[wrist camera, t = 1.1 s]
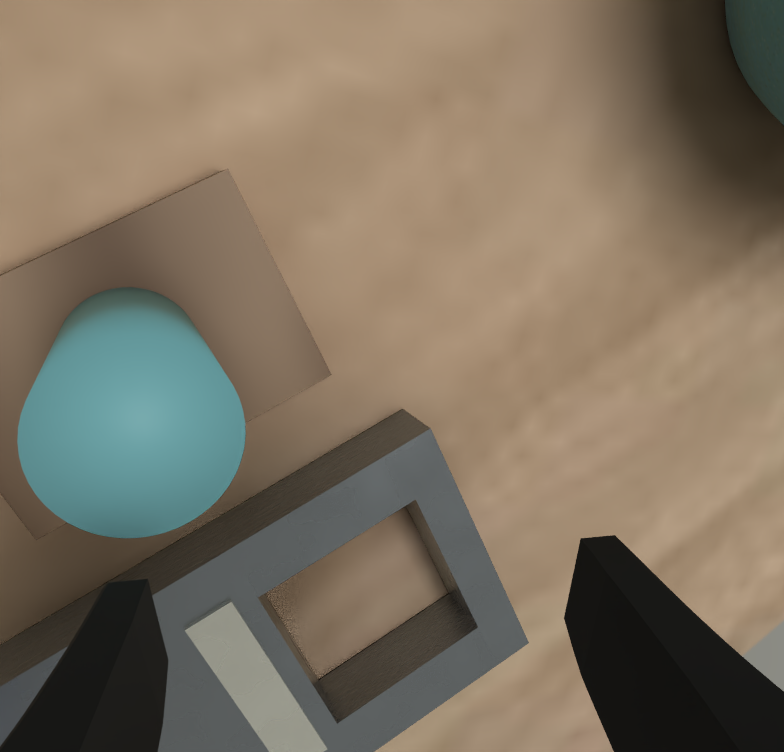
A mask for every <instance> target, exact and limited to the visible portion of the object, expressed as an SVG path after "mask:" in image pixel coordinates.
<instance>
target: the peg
mask: <svg viewBox="0 0 784 752" xmlns="http://www.w3.org/2000/svg"><path fill="white" fill-rule="evenodd" d="M245 436H246V433H245V419H244V413H243V408H242V405H241V402H240V399H239V396H238V394H237V392H236V390H235V388H234V386H233V384H232V383H231V381H230V380H229V378H228V377H227V375H226V374H225V372H224V370H223V369H222V367H221V366H220V364H219V363H218V361H217V359H216V358H215V356H214V355H213V353H212V352H211V350H210V349H209V347H208V345H207V344H206V342H205V341H204V339H203V338H202V336H201V335H200V333H199V331H198V330H197V328H196V327H195V325H194V324H193V322H192V321H191V319H190V318H189V316H188V315H187V314H186V313H185V311H184V310H183V309H182V308H181V307H179V306H178V305H177V304H176V303H175V302H173V301H172V300H170V299H169V298H167V297H165V296H163V295H161V294H159V293H156V292H154V291H151V290H147V289H142V288H134V287H121V288H114V289H109V290H106V291H102V292H100V293H97V294H95V295H93V296H91V297H89V298H88V299H86V300H84V301H83V302H82V303H80V304H79V305H78V306H77V307H76V308H75V309H74V310H73V311H72V312H71V313H70V314H69V316H68V317H67V318H66V320H65V321H64V323H63V325H62V327H61V329H60V331H59V333H58V335H57V337H56V339H55V341H54V343H53V345H52V347H51V349H50V351H49V353H48V355H47V358H46V360H45V362H44V364H43V366H42V368H41V370H40V372H39V374H38V376H37V378H36V380H35V382H34V384H33V386H32V388H31V391H30V393H29V395H28V397H27V399H26V401H25V404H24V407H23V409H22V412H21V416H20V421H19V426H18V439H17V443H18V453H19V458H20V462H21V466H22V470H23V472H24V474H25V477H26V479H27V481H28V483H29V485H30V486H31V488H32V490H33V491H34V493H35V494H36V496H37V497H38V498H39V499H40V500H41V501H42V503H43V504H44V505H45V506H46V507H47V508H48V509H50V510H51V511H52V512H53V513H54V514H55V515H57V516H58V517H60V518H61V519H63V520H64V521H66V522H67V523H69V524H71V525H73V526H75V527H77V528H79V529H82V530H85V531H87V532H90V533H93V534H97V535H102V536H106V537H115V538H140V537H148V536H153V535H157V534H161V533H165V532H168V531H171V530H173V529H176V528H179V527H181V526H183V525H185V524H186V523H188V522H190V521H192V520H194V519H195V518H197V517H198V516H200V515H201V514H203V513H204V512H205V511H206V510H207V509H209V508H210V507H211V506H212V505H213V504H214V503H215V502H216V501H217V500H218V499H219V498H220V497H221V496H222V494H223V493H224V492H225V490H226V489H227V488H228V486H229V485H230V483H231V481H232V480H233V478H234V476H235V474H236V472H237V470H238V467H239V465H240V462H241V459H242V455H243V451H244V445H245Z"/></svg>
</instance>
